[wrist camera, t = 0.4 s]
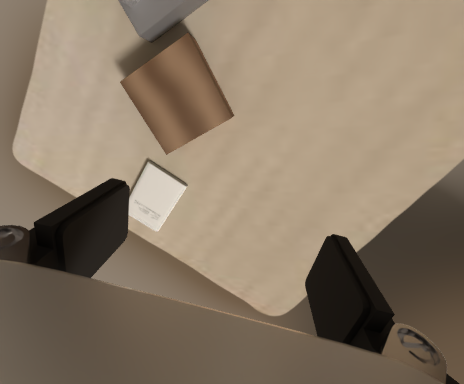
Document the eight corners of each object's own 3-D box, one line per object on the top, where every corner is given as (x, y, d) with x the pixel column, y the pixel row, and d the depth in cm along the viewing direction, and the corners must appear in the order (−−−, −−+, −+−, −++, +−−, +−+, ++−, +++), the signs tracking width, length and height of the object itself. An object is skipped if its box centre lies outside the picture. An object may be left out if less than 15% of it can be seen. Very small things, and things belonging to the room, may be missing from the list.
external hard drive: (188, 183, 43) (160, 228, 48) (151, 159, 42) (125, 207, 47) (186, 187, 42) (157, 232, 46) (147, 161, 41) (121, 211, 45)
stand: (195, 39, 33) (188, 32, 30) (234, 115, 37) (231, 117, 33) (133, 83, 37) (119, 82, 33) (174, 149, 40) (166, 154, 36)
